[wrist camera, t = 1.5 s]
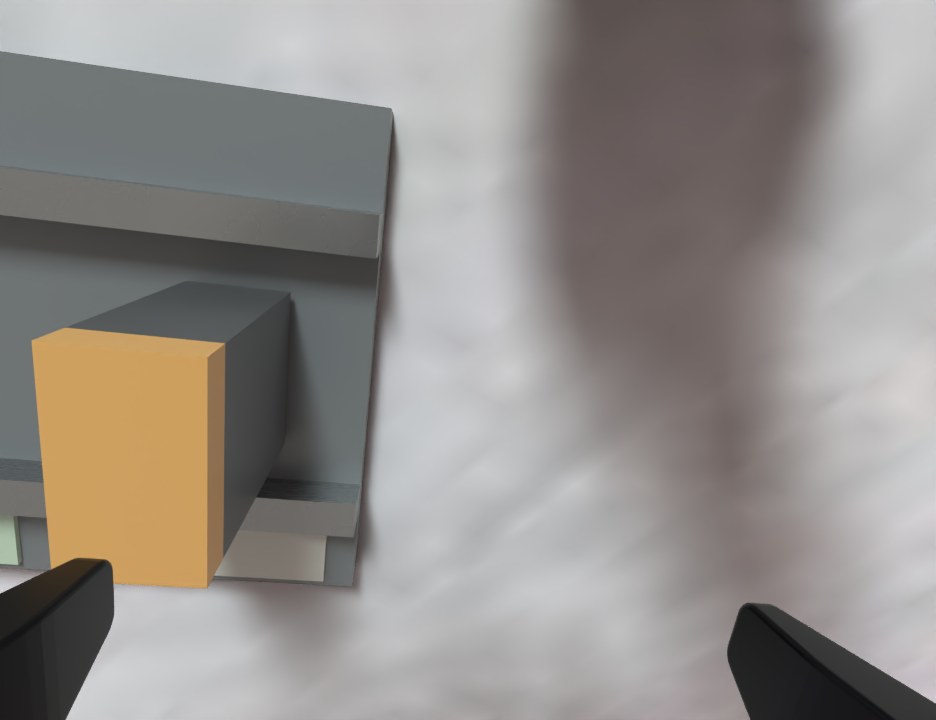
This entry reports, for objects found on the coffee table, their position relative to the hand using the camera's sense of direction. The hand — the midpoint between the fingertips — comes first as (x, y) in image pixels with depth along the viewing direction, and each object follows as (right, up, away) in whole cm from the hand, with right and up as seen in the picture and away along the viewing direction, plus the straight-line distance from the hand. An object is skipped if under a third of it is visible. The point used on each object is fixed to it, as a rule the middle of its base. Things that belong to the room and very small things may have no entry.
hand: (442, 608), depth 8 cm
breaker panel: (-12, +4, +10) cm, 16 cm away
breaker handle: (-7, +3, +10) cm, 12 cm away
